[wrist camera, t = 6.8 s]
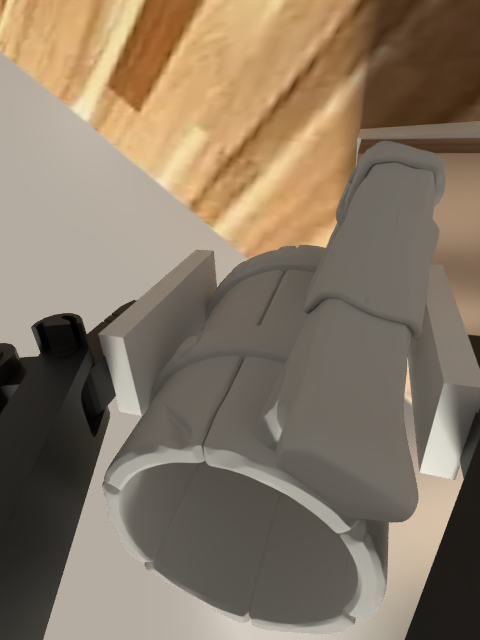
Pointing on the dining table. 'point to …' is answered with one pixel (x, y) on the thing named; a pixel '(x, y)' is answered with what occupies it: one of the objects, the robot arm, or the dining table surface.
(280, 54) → the dining table surface
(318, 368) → the mug
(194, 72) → the dining table surface
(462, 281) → the walnut slab
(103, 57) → the dining table surface
